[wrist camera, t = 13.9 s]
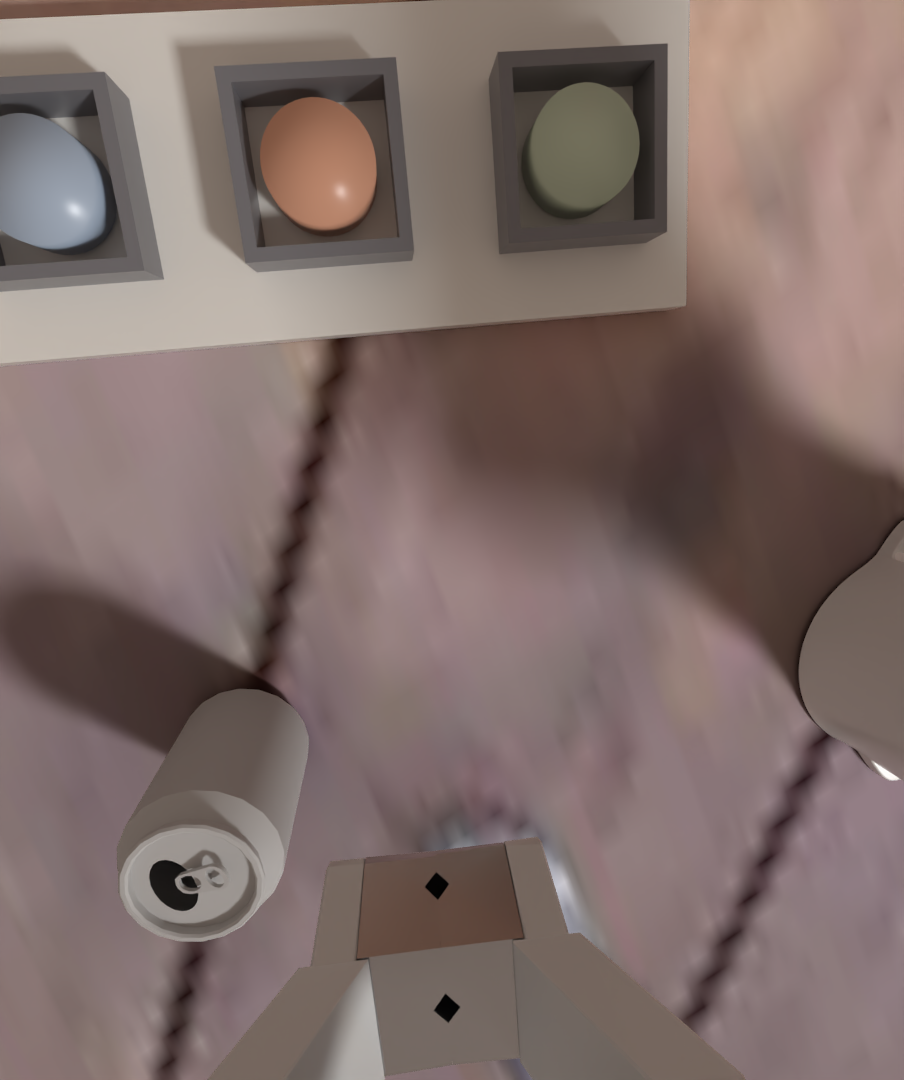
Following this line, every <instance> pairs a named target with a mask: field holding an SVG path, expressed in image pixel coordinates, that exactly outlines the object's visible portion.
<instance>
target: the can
mask: <svg viewBox="0 0 904 1080" xmlns="http://www.w3.org/2000/svg"><path fill="white" fill-rule="evenodd" d="M308 746H309V737H308V734H307V730H306V727H305V723H304V721H303V720H302V719H301V717H300V716H299V714H298V713H297V712H296V710H295V709H294V708H293V707H292V706H291V705H289V704H288V703H286V702H285V701H284V700H282V699H281V698H280V697H278V696H275V695H273V694H270V693H267V692H264V691H261V690H254V689H235V690H231V691H226V692H222V693H218V694H217V695H215V696H213V697H211V698H210V699H208V700H206V701H204V702H203V703H202V704H201V705H200V706H199V707H198V708H197V709H196V710H195V711H194V712H193V714H192V715H191V716H190V717H189V719H188V721H187V722H186V724H185V726H184V727H183V729H182V731H181V732H180V734H179V736H178V738H177V739H176V741H175V743H174V744H173V746H172V748H171V750H170V751H169V753H168V755H167V756H166V758H165V760H164V761H163V763H162V765H161V767H160V768H159V770H158V772H157V773H156V775H155V777H154V778H153V780H152V782H151V784H150V785H149V787H148V789H147V790H146V792H145V794H144V795H143V797H142V799H141V801H140V802H139V804H138V806H137V807H136V809H135V811H134V813H133V814H132V816H131V818H130V819H129V821H128V823H127V824H126V826H125V829H124V831H123V834H122V836H121V839H120V841H119V844H118V846H117V869H118V872H119V873H118V893H119V895H120V898H121V900H122V902H123V905H124V907H125V910H126V911H127V912H128V913H129V914H130V915H131V916H132V917H133V918H134V920H135V921H136V922H137V923H138V924H139V925H140V926H142V927H144V928H146V929H147V930H149V931H151V932H153V933H154V934H156V935H158V936H161V937H165V938H169V939H172V940H176V941H206V940H210V939H214V938H218V937H223V936H225V935H227V934H229V933H231V932H232V931H234V930H236V929H238V928H240V927H241V926H243V925H244V924H245V923H246V922H247V921H248V920H249V919H250V918H251V917H252V916H253V915H254V914H255V912H256V911H257V909H258V908H259V907H260V906H261V905H262V904H263V903H264V902H265V901H266V900H267V899H268V898H269V897H270V895H271V894H272V893H273V892H274V891H275V889H276V887H277V884H278V882H279V880H280V878H281V876H282V874H283V870H284V866H285V861H286V856H287V851H288V847H289V842H290V837H291V833H292V828H293V823H294V818H295V814H296V809H297V804H298V799H299V795H300V790H301V785H302V781H303V776H304V771H305V766H306V762H307V757H308Z"/></svg>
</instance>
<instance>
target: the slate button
mask: <svg viewBox="0 0 904 1080" xmlns="http://www.w3.org/2000/svg"><path fill="white" fill-rule="evenodd" d="M116 213H117V204H116V199H115V194H114V189H113V184H112V180H111V176H110V174H109V173H108V171H107V169H106V167H105V166H104V164H103V163H102V162H101V161H100V159H99V158H98V157H97V156H96V155H95V154H94V153H93V152H92V151H91V150H90V149H88V148H87V147H86V146H85V145H83V144H82V143H81V142H79V141H78V140H77V139H76V138H74V137H73V136H72V135H70V134H69V133H68V132H67V131H65V130H64V129H63V128H61V127H60V126H58V125H57V124H55V123H53V122H52V121H50V120H48V119H45V118H43V117H40V116H37V115H33V114H27V113H13V114H7V115H4V116H0V230H2V231H3V232H5V233H6V234H8V235H10V236H11V237H13V238H15V239H18V240H20V241H23V242H25V243H28V244H31V245H33V246H36V247H38V248H41V249H44V250H46V251H49V252H52V253H56V254H62V255H76V254H81V253H85V252H88V251H90V250H92V249H94V248H95V247H97V246H98V245H99V244H101V243H102V242H103V241H104V240H105V238H106V237H107V236H108V235H109V233H110V231H111V229H112V227H113V225H114V222H115V218H116Z"/></svg>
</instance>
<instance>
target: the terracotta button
mask: <svg viewBox="0 0 904 1080" xmlns="http://www.w3.org/2000/svg"><path fill="white" fill-rule="evenodd" d="M260 164H261V170H262V175H263V178H264V181H265V184H266V186H267V188H268V190H269V192H270V193H271V195H272V197H273V198H274V200H275V201H276V203H277V205H278V206H279V208H280V209H281V211H282V212H283V214H284V215H285V216H286V217H287V218H288V219H289V220H290V221H291V222H292V223H293V224H294V225H296V226H297V227H298V228H300V229H302V230H304V231H306V232H308V233H310V234H314V235H318V236H337V235H341V234H344V233H346V232H349V231H351V230H352V229H354V228H355V227H357V226H358V225H359V224H360V223H361V222H362V221H363V220H364V219H365V218H366V216H367V215H368V213H369V212H370V210H371V208H372V206H373V203H374V200H375V196H376V191H377V170H376V157H375V151H374V147H373V144H372V141H371V138H370V136H369V134H368V132H367V130H366V129H365V127H364V126H363V124H362V123H361V121H360V120H359V119H358V118H357V117H356V116H355V115H354V114H353V113H352V112H351V111H350V110H348V109H347V108H346V107H344V106H343V105H341V104H339V103H337V102H335V101H332V100H329V99H326V98H320V97H307V98H301V99H298V100H295V101H293V102H290V103H288V104H287V105H285V106H284V107H282V108H281V109H280V110H279V111H278V112H277V113H276V114H275V115H274V116H273V117H272V119H271V120H270V122H269V123H268V125H267V127H266V129H265V132H264V134H263V138H262V141H261V147H260Z"/></svg>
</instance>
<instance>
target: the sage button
mask: <svg viewBox="0 0 904 1080" xmlns="http://www.w3.org/2000/svg"><path fill="white" fill-rule="evenodd" d="M639 145H640V141H639V131H638V126H637V123H636V119H635V117H634V115H633V113H632V111H631V109H630V107H629V106H628V104H627V103H626V102H625V100H624V99H623V98H622V97H621V96H620V95H619V94H618V93H616V92H615V91H613V90H612V89H610V88H608V87H606V86H604V85H601V84H597V83H592V82H583V83H576V84H573V85H570V86H568V87H565V88H563V89H562V90H560V91H559V92H557V93H556V94H555V95H554V96H552V97H551V98H550V100H549V101H548V102H547V103H546V104H545V106H544V107H543V109H542V110H541V112H540V114H539V115H538V117H537V119H536V121H535V122H534V124H533V126H532V128H531V129H530V131H529V133H528V135H527V138H526V140H525V143H524V147H523V151H522V174H523V178H524V182H525V185H526V188H527V190H528V192H529V194H530V195H531V197H532V198H533V200H534V201H535V202H536V203H537V204H538V205H539V206H540V207H541V208H542V209H543V210H545V211H546V212H548V213H549V214H551V215H553V216H556V217H559V218H564V219H578V218H582V217H586V216H588V215H590V214H593V213H594V212H596V211H597V210H599V209H600V208H601V207H602V206H604V205H605V204H606V203H607V202H609V201H610V200H611V199H612V198H613V197H615V196H616V195H617V194H618V193H619V192H620V191H621V190H622V189H623V188H624V187H625V186H626V184H627V183H628V181H629V180H630V178H631V176H632V174H633V172H634V170H635V167H636V164H637V160H638V155H639Z"/></svg>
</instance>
